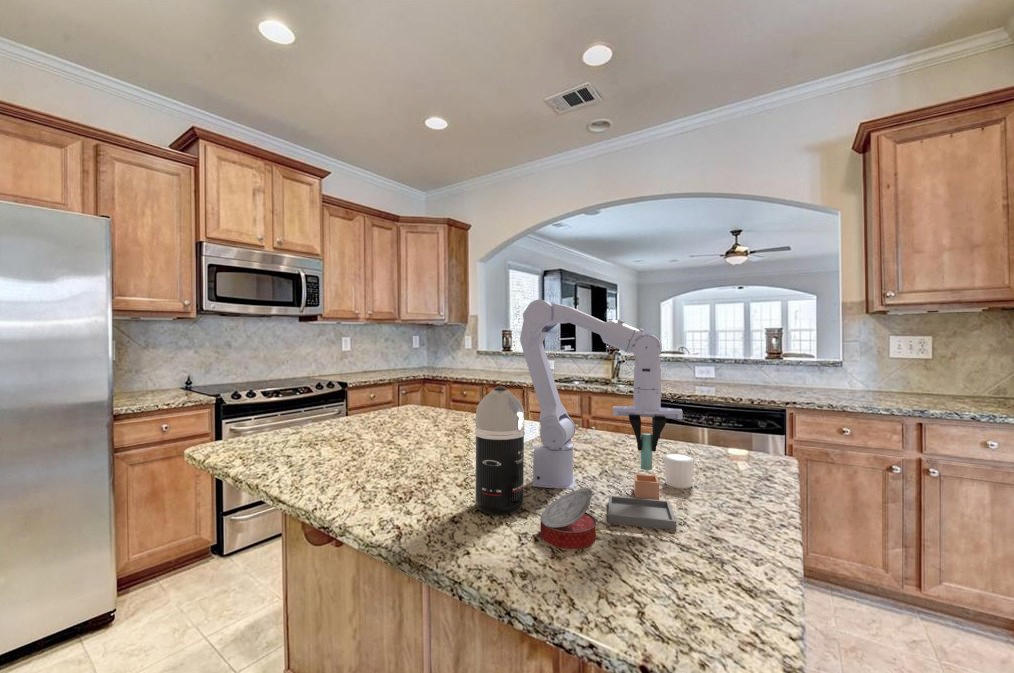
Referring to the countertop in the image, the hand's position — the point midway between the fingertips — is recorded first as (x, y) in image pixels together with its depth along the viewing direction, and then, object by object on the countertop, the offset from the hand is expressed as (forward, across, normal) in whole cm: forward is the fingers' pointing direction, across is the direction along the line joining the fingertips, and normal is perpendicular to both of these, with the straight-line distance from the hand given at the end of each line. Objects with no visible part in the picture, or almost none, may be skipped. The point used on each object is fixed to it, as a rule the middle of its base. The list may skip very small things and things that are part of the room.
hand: (646, 449), depth 95 cm
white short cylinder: (+11, +8, +9) cm, 16 cm away
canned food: (+11, -15, -23) cm, 29 cm away
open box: (+10, 0, 0) cm, 10 cm away
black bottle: (+11, -30, -14) cm, 35 cm away
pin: (+4, 0, 0) cm, 4 cm away
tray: (+10, -2, -12) cm, 16 cm away
